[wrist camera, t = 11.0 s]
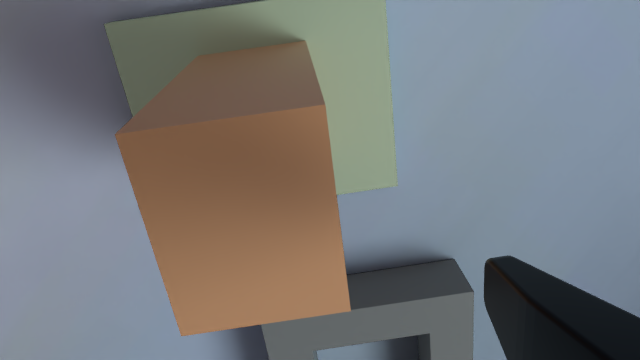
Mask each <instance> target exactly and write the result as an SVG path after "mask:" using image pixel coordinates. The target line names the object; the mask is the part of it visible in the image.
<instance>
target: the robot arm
mask: <svg viewBox="0 0 640 360" xmlns="http://www.w3.org/2000/svg"><path fill="white" fill-rule="evenodd" d="M484 302H485V306H486V310H487V312H488V315H489V317H490V319H491V322H492V324H493V327H494V329H495V331H496V334H497V336H498V339H499V341H500V343H501V346H502V348H503V351H504V353H505V356H506V358H507V360H640V318H639V317H637V316H635V315H633V314H631V313H629V312H627V311H625V310H622V309H620V308H618V307H616V306H614V305H612V304H610V303H608V302H606V301H604V300H602V299H600V298H598V297H596V296H593V295H591V294H589V293H587V292H585V291H583V290H581V289H579V288H577V287H575V286H573V285H571V284H569V283H566V282H564V281H562V280H560V279H558V278H556V277H554V276H552V275H550V274H548V273H546V272H544V271H542V270H539V269H537V268H535V267H533V266H531V265H529V264H527V263H525V262H523V261H521V260H519V259H517V258H515V257H512V256H501V257H495V258H489V259H488V260H487V261H486V263H485V268H484Z"/></svg>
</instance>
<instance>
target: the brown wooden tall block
mask: <svg viewBox="0 0 640 360" xmlns="http://www.w3.org/2000/svg"><path fill="white" fill-rule="evenodd" d="M115 136H116V139H117V142H118V145H119V148H120V151H121V154H122V158H123V161H124V164H125V167H126V170H127V173H128V176H129V179H130V182H131V185H132V188H133V191H134V194H135V197H136V200H137V203H138V206H139V209H140V212H141V215H142V218H143V221H144V224H145V227H146V230H147V233H148V236H149V239H150V242H151V245H152V248H153V252H154V255H155V258H156V261H157V264H158V267H159V270H160V273H161V276H162V279H163V282H164V285H165V288H166V291H167V294H168V297H169V300H170V303H171V306H172V309H173V312H174V315H175V318H176V321H177V324H178V327H179V330H180V333H181V336H186V335H193V334H200V333H206V332H213V331H220V330H227V329H234V328H240V327H247V326H254V325H261V324H268V323H274V322H281V321H288V320H295V319H301V318H308V317H315V316H322V315H329V314H335V313H342V312H349V311H351V308H350V300H349V292H348V283H347V275H346V267H345V259H344V251H343V243H342V235H341V227H340V219H339V211H338V203H337V195H336V186H335V178H334V170H333V162H332V154H331V146H330V138H329V130H328V122H327V114H326V106H325V102H324V98H323V95H322V92H321V89H320V85H319V82H318V79H317V76H316V72H315V69H314V66H313V63H312V59H311V56H310V53H309V50H308V46H307V43H306V41H300V42H292V43H285V44H278V45H271V46H264V47H257V48H250V49H242V50H235V51H228V52H221V53H214V54H207V55H200V56H197V57H196V58H195V59H194V60H193V61H192V62H191V63H189V64H188V65H187V66H186V67H185V68H184V69H183V70H182V71H181V72H180V73H179V74H178V75H177V76H176V77H175V78H174V79H173V80H172V81H171V82H169V83H168V84H167V85H166V86H165V87H164V88H163V89H162V90H161V91H160V92H159V93H158V94H157V95H156V96H155V97H154V98H153V99H152V100H151V101H149V102H148V103H147V104H146V105H145V106H144V107H143V108H142V109H141V110H140V111H139V112H138V113H137V114H136V115H135V116H134V117H133V118H132V119H130V120H129V121H128V122H127V123H126V124H125V125H124V126H123V127H122V128H121V129H120V130H119V131H118V132H117V133H116V134H115Z"/></svg>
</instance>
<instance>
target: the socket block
mask: <svg viewBox="0 0 640 360" xmlns="http://www.w3.org/2000/svg"><path fill="white" fill-rule="evenodd" d="M347 283H348V292H349V300H350V308H351V311H349V312H342V313H335V314H329V315H322V316H315V317H308V318H301V319H295V320H288V321H281V322H274V323H268V324H261V327H262V331H263V335H264V340H265V344H266V348H267V352H268V356H269V360H318V358H317V352H316V350H322V349H329V348H336V347H342V346H349V345H355V344H362V343H369V342H375V341H382V340H388V339H395V338H402V337H408V336H415V335H418V351H419V360H473V309H474V291H473V289H472V288H471V286H470V284H469V283H468V281H467V279H466V278H465V276H464V274H463V273H462V271H461V269H460V268H459V266H458V264H457V262H456V261H455V259H452V260H445V261H438V262H432V263H425V264H418V265H412V266H405V267H398V268H392V269H385V270H378V271H372V272H365V273H358V274H352V275H347Z"/></svg>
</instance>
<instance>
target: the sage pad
mask: <svg viewBox="0 0 640 360" xmlns="http://www.w3.org/2000/svg"><path fill="white" fill-rule="evenodd" d="M104 27H105V30H106V33H107V36H108V39H109V43H110V46H111V49H112V52H113V55H114V59H115V62H116V65H117V68H118V71H119V75H120V78H121V81H122V84H123V88H124V91H125V94H126V97H127V100H128V104H129V107H130V110H131V113H132V116H133V117H134V116H135V115H136V114H137V113H138V112H139V111H140V110H141V109H142V108H143V107H144V106H145V105H146V104H147V103H148V102H149V101H151V100H152V99H153V98H154V97H155V96H156V95H157V94H158V93H159V92H160V91H161V90H162V89H163V88H164V87H165V86H166V85H167V84H168V83H169V82H171V81H172V80H173V79H174V78H175V77H176V76H177V75H178V74H179V73H180V72H181V71H182V70H183V69H184V68H185V67H186V66H187V65H188V64H189V63H191V62H192V61H193V60H194V59H195V58H196V57H197V56H200V55H207V54H214V53H221V52H228V51H235V50H242V49H250V48H257V47H264V46H271V45H278V44H285V43H292V42H300V41H306V43H307V46H308V50H309V53H310V56H311V59H312V63H313V66H314V69H315V72H316V76H317V79H318V82H319V85H320V89H321V92H322V95H323V98H324V102H325V106H326V114H327V122H328V130H329V138H330V146H331V154H332V162H333V170H334V178H335V186H336V195H339V194H346V193H353V192H360V191H366V190H373V189H380V188H387V187H393V186H398V184H397V169H396V154H395V139H394V123H393V108H392V93H391V78H390V62H389V47H388V32H387V17H386V1H385V0H260V1H253V2H246V3H239V4H232V5H226V6H219V7H212V8H205V9H198V10H191V11H184V12H177V13H170V14H163V15H156V16H149V17H142V18H135V19H128V20H121V21H114V22H109V23H106V24H104Z"/></svg>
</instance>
